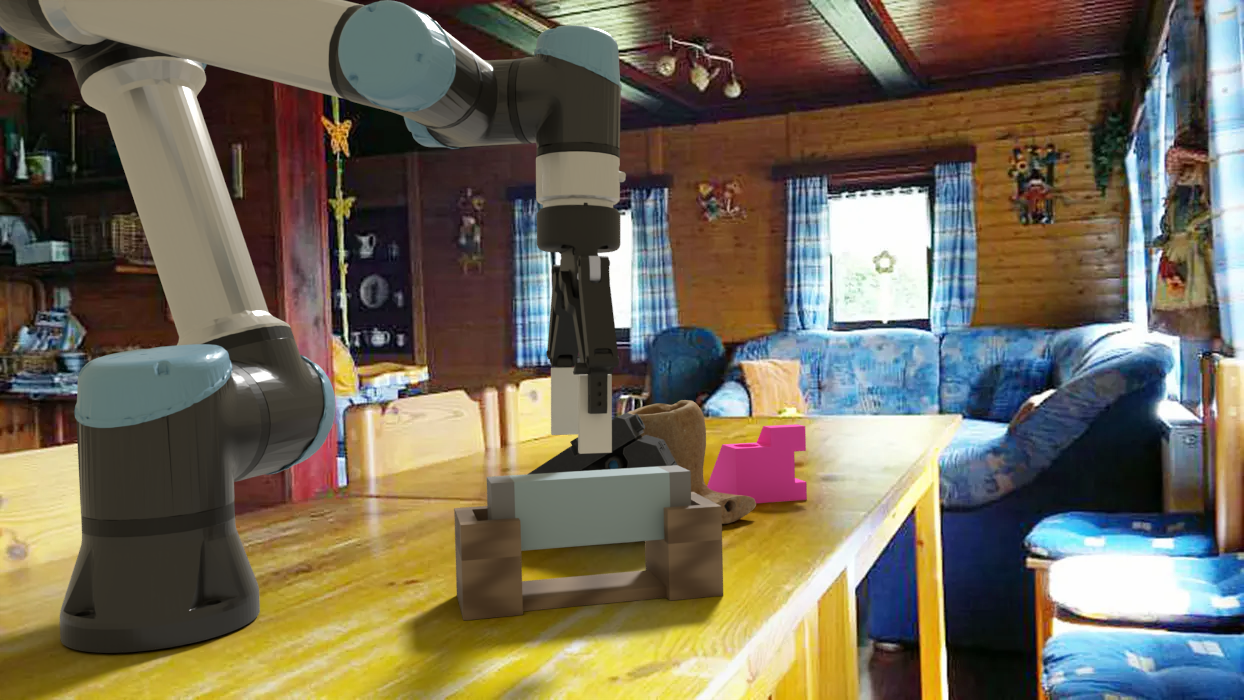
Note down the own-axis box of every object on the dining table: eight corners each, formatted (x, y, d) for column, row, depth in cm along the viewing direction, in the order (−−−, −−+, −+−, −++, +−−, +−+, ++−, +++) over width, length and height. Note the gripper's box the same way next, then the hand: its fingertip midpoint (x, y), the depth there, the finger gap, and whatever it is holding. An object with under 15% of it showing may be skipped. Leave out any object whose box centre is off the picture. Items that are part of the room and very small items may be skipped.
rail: (493, 552, 81) (491, 483, 81) (488, 543, 85) (486, 476, 85) (692, 537, 86) (690, 471, 86) (679, 528, 90) (677, 465, 89)
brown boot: (604, 522, 118) (601, 403, 118) (660, 507, 127) (657, 396, 127) (706, 536, 109) (703, 406, 108) (758, 518, 118) (756, 399, 118)
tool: (702, 523, 102) (631, 403, 103) (555, 606, 105) (488, 489, 107) (708, 512, 108) (641, 399, 109) (569, 591, 111) (506, 480, 113)
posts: (463, 620, 79) (460, 525, 79) (456, 594, 87) (454, 508, 86) (723, 595, 84) (721, 506, 84) (695, 573, 92) (693, 491, 92)
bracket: (806, 500, 130) (805, 426, 130) (736, 505, 128) (735, 429, 127) (772, 486, 142) (770, 418, 142) (707, 491, 139) (705, 421, 139)
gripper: (657, 189, 74) (656, 460, 74) (590, 222, 98) (590, 427, 98) (562, 185, 72) (562, 463, 72) (518, 221, 96) (519, 429, 97)
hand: (579, 443), depth 85 cm, fingers open, 13 cm apart
